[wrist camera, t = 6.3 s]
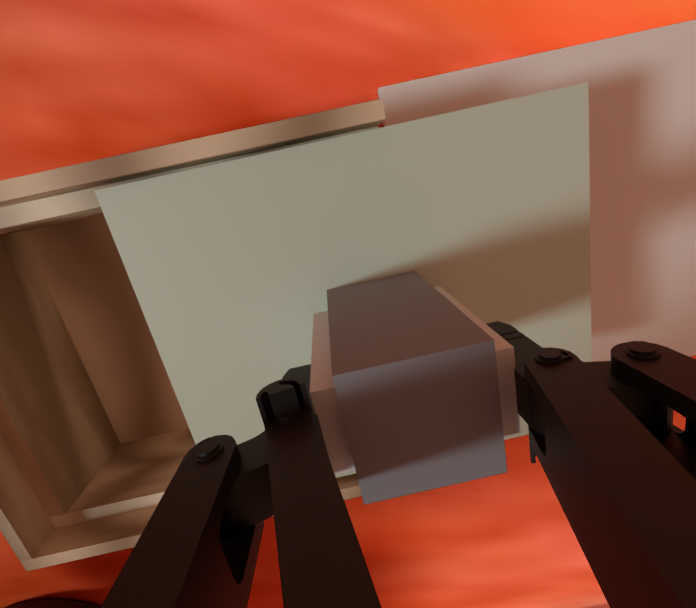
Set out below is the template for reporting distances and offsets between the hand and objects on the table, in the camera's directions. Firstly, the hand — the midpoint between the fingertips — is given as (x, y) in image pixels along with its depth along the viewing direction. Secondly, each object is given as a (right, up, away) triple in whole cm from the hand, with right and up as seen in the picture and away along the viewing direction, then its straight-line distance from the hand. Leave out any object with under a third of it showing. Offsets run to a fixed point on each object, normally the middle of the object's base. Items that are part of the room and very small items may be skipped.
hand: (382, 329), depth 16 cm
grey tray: (+13, +6, +9) cm, 17 cm away
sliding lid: (0, +1, +2) cm, 2 cm away
